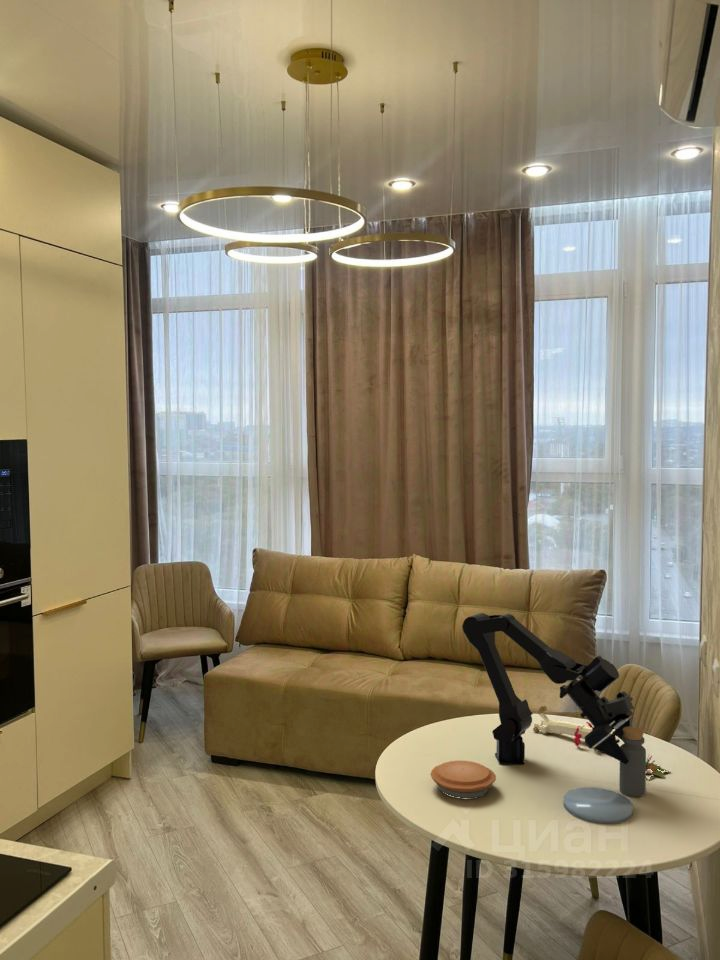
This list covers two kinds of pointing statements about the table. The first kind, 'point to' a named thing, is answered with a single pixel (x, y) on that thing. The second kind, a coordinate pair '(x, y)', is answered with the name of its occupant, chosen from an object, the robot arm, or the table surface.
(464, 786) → the pie
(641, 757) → the bottle
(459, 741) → the table surface
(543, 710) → the cat figure
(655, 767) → the lily flower
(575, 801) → the dish
